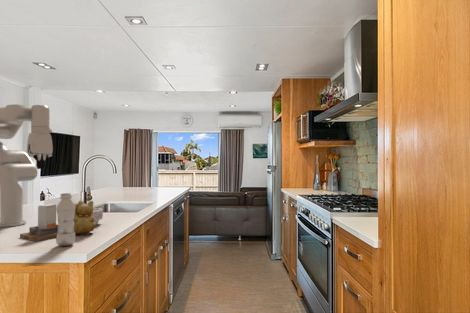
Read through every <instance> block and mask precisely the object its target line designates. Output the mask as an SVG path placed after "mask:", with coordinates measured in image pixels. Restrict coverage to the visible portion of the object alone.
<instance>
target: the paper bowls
mask: <svg viewBox="0 0 470 313" xmlns="http://www.w3.org/2000/svg"><path fill="white" fill-rule="evenodd" d="M103 214H104V211H103V208H101V207H99V208H97V207H93V213H92V214H91V215H92V216H93V217H94V219H95V221H94V222H95V226H96V225H98V223H99V222H100V220H102V219H103V216H104V215H103Z"/></svg>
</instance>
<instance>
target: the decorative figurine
mask: <svg viewBox="0 0 470 313" xmlns="http://www.w3.org/2000/svg"><path fill="white" fill-rule="evenodd" d="M74 204H75V206H76V208H75V215H74V232H75V236H87V235H89V234H90V233H91V232H93V231H95V228H96V225H95V222H94V221H95V219H94V217H93V216H92V215H91V214H92V213H93V208H94V201H93V200H89V201H88V202H87V203H85V202H84V200H78V202H77V203H74Z"/></svg>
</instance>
